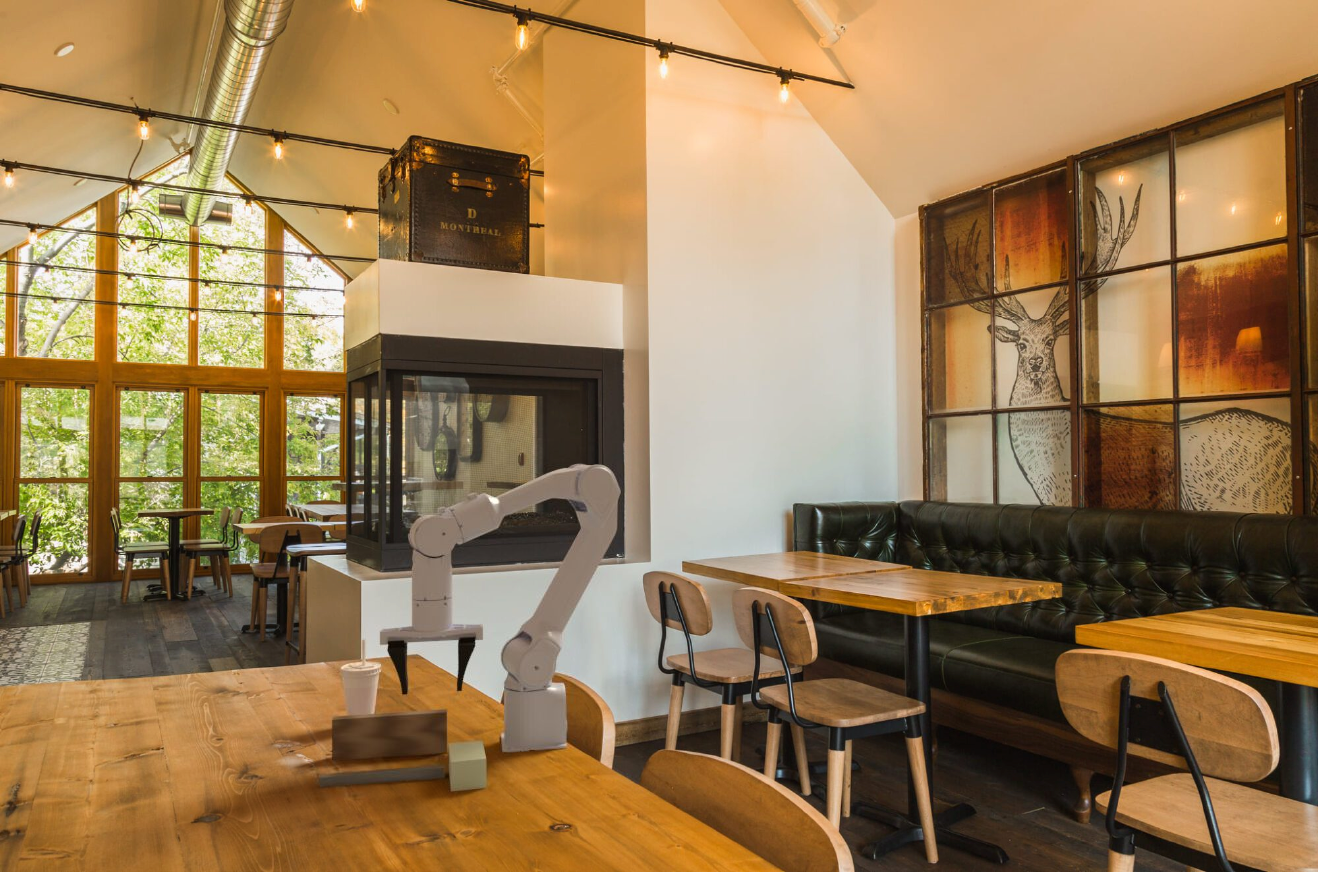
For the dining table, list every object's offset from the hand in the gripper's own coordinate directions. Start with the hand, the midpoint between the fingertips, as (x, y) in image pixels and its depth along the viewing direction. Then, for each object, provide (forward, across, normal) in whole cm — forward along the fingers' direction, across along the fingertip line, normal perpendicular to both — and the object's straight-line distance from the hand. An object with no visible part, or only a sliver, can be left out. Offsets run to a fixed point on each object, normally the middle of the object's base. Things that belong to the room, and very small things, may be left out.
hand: (432, 691), depth 129 cm
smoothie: (+10, +12, -17) cm, 23 cm away
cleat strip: (+9, +6, +10) cm, 15 cm away
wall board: (+9, +6, -2) cm, 11 cm away
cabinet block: (+10, -5, +12) cm, 16 cm away
